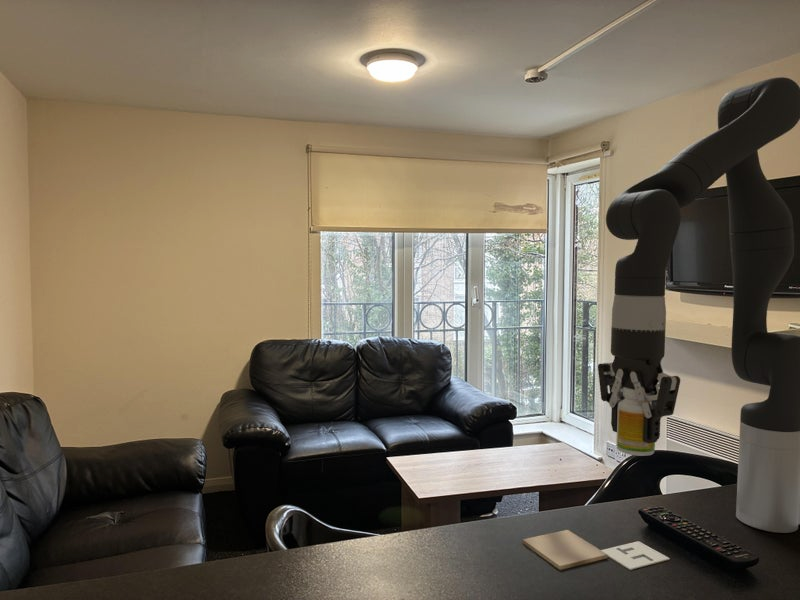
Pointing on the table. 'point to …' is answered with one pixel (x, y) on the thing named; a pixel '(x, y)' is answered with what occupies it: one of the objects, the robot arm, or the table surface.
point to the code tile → (635, 555)
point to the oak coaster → (564, 549)
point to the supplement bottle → (632, 425)
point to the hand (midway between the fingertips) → (634, 436)
